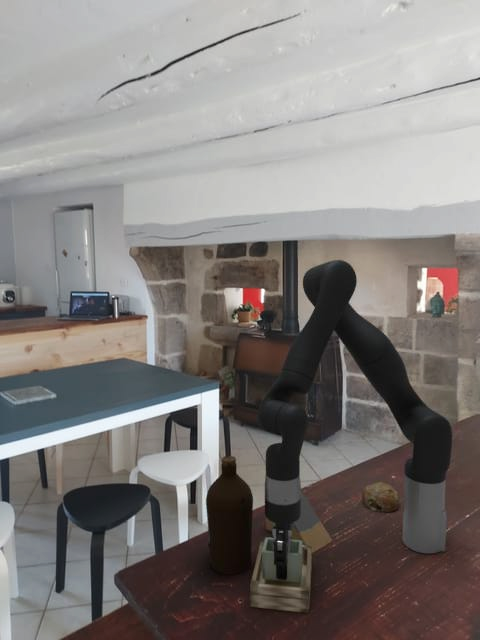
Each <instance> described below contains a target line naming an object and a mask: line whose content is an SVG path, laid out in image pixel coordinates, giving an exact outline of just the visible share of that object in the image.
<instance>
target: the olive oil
mask: <svg viewBox="0 0 480 640" xmlns="http://www.w3.org/2000/svg"><path fill="white" fill-rule="evenodd" d="M220 466H221V473H220V475H219V476H218V477H217V478H216V479H215V480H214V481H213V482H212V484H211V485H210V486H209V487H208V491H207V494H206V497H205V506H206V507H205V509H206V519H207V530H208V531H207V533H208V548H209V563H210V566H211V568H212V569H213V570H214V571H215V572H217V573H219V574H222V575H228V576H230V575H237V574H238V575H239V574H241V573H243V572H244V571H247V570H248V569H249V567H250V566H251V563H252V538H253V537H252V536H253V535H252V533H253V508H254V496H253V495H254V494H253V492H252V489H251V487H250V486H249V484H248V483H247V481H245V480H244V478H242V477H241V476H240V475H238V473H237V458H236V457H235V456H233V455H226V456H222V458H221V465H220Z"/></svg>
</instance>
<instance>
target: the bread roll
mask: <svg viewBox="0 0 480 640" xmlns="http://www.w3.org/2000/svg"><path fill="white" fill-rule="evenodd" d="M361 499H362V502H363V504H364V505H365V507H367V508H368V509H370V511H372V512H381V513H385V512H387V513H392V512H395V511H396V510H397V509H398V508H399V494H398V492H397V490H396V489H395V488H394V487H393V486H391V485H390V484H388V483H387V482H383V481H377V482H374V483H373V484H368V485H367V486H365V488H364V489H363V490H362V493H361Z"/></svg>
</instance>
